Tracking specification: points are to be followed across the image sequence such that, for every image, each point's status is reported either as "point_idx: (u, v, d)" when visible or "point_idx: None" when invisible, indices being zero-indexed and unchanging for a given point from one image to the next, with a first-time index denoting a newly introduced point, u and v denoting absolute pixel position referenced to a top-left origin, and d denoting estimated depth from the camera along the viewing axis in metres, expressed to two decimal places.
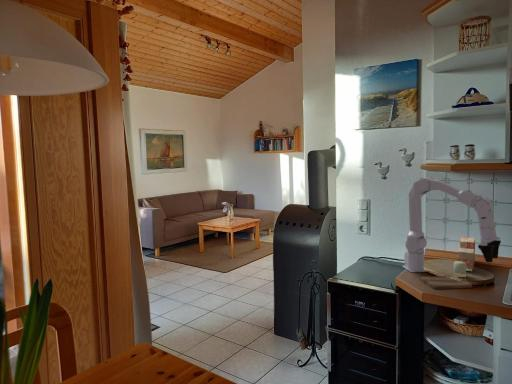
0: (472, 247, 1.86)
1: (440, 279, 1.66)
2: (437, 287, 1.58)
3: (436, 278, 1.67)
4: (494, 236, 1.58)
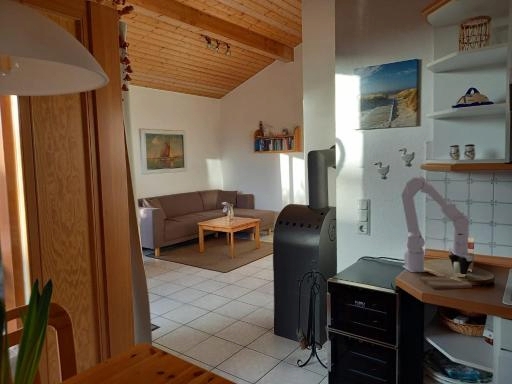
0: (472, 247, 1.86)
1: (440, 279, 1.66)
2: (437, 287, 1.58)
3: (436, 278, 1.67)
4: (467, 251, 1.72)
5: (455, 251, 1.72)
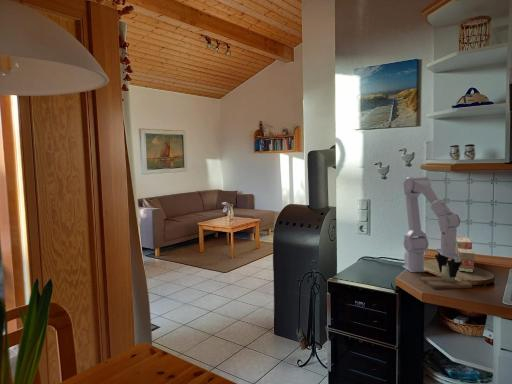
0: (470, 247, 1.86)
1: (440, 279, 1.66)
2: (437, 287, 1.58)
3: (436, 278, 1.67)
4: (455, 251, 1.62)
5: (442, 251, 1.62)
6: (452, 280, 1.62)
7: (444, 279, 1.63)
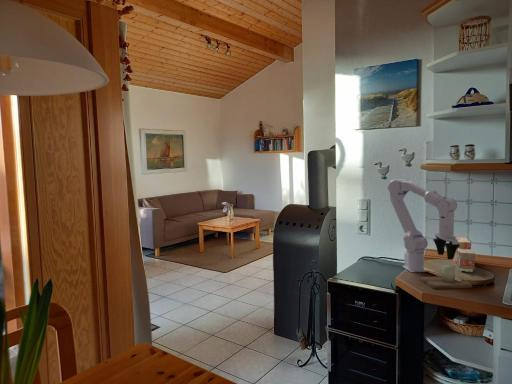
0: (469, 247, 1.86)
1: (440, 279, 1.66)
2: (437, 287, 1.58)
3: (436, 278, 1.67)
4: None
5: (441, 235, 1.69)
6: (452, 280, 1.62)
7: (444, 279, 1.63)
